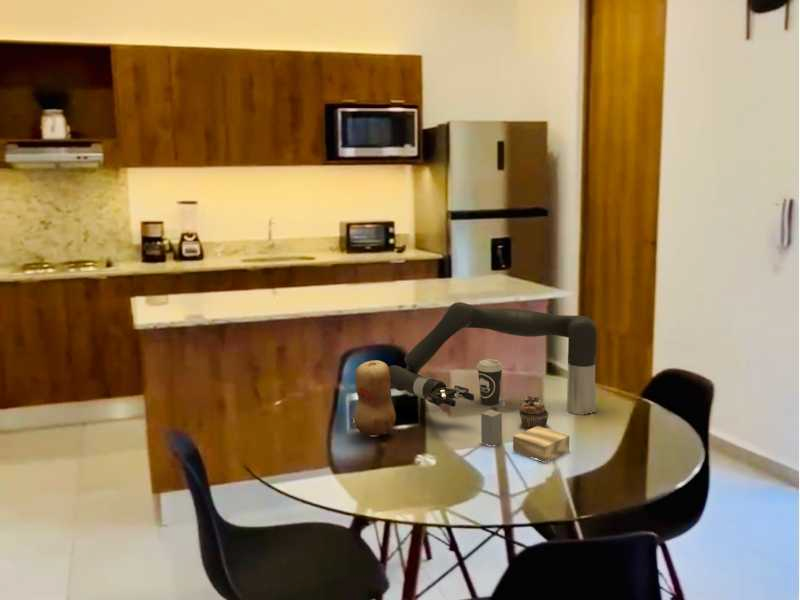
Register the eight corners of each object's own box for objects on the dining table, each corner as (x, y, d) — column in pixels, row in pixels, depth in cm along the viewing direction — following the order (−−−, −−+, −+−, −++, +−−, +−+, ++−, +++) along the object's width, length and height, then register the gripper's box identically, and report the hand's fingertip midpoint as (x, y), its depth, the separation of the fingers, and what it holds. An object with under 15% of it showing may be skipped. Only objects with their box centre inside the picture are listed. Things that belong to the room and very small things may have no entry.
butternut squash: (346, 439, 249) (343, 365, 244) (367, 425, 261) (364, 354, 256) (384, 446, 243) (381, 370, 238) (404, 431, 254) (401, 359, 249)
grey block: (490, 439, 246) (490, 409, 244) (501, 443, 243) (501, 413, 241) (481, 443, 243) (481, 413, 241) (492, 447, 240) (492, 416, 238)
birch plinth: (537, 440, 244) (537, 425, 243) (569, 451, 235) (569, 435, 234) (513, 451, 236) (513, 436, 235) (544, 462, 227) (544, 446, 226)
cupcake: (548, 432, 251) (548, 403, 248) (518, 430, 252) (518, 401, 250) (548, 421, 260) (549, 393, 258) (519, 420, 262) (519, 392, 260)
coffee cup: (504, 406, 275) (504, 366, 272) (477, 407, 276) (477, 366, 273) (501, 397, 285) (501, 358, 282) (475, 398, 285) (475, 359, 282)
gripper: (414, 382, 255) (448, 394, 244) (444, 374, 265) (479, 384, 253) (414, 404, 257) (448, 417, 245) (444, 394, 266) (479, 406, 254)
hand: (464, 400), depth 249 cm, fingers open, 8 cm apart
